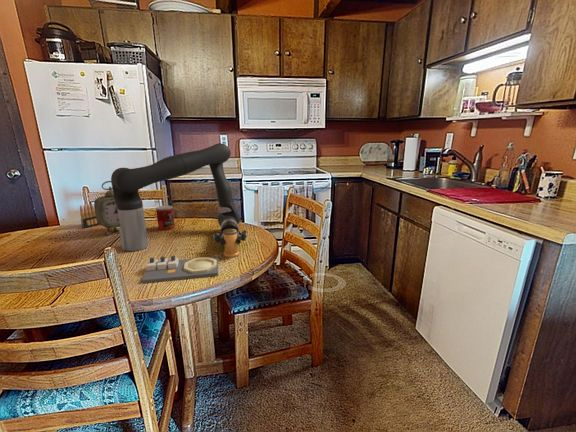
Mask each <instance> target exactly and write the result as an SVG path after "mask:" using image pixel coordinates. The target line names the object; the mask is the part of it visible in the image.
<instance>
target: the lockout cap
mask: <svg viewBox="0 0 576 432" xmlns="http://www.w3.org/2000/svg"><path fill="white" fill-rule="evenodd" d="M223 234H224V246H223V247H224V251H223V257H224V258H227V259H228V258H229V259H232V258H233V259H234V258H236V257H238V256H240V251H239V249H238V245H237V230H236V229H226V230H224V231H223Z"/></svg>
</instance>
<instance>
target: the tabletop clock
mask: <svg viewBox="0 0 576 432" xmlns="http://www.w3.org/2000/svg"><path fill="white" fill-rule="evenodd" d="M107 183H108V184H109V183H111V180H107V181H104V182H103V183H102V184H101V188H102V189H103V190H104V191H106V192H105V194H104V196H99V197H97V198H95V199H94V202H93V203H94V204H93V207H94V210H95V216H96V219H97V221H98V223H99V224H100V225H99V226H102V227H104V228H106V229H107V231H106V232H105V235H106V236H110V234H111V233H110V229H112V230H113V232H115V231H117V230H118V229H117V228H120V221H119V215H118V209H117V204H116V202H115V199H114V194H113V189H112V186H109V187H108V188H105V187H104V185H105V184H107Z"/></svg>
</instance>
